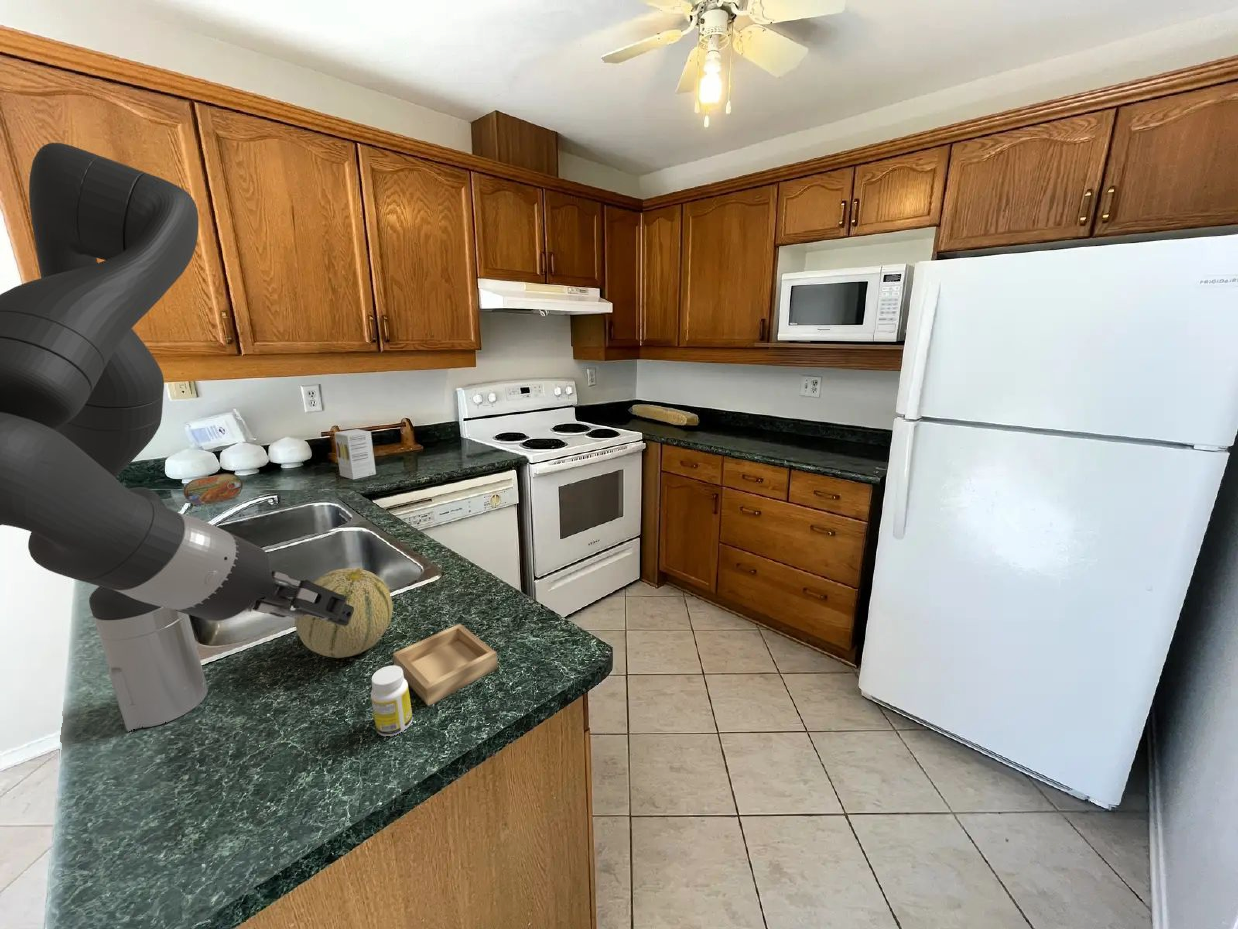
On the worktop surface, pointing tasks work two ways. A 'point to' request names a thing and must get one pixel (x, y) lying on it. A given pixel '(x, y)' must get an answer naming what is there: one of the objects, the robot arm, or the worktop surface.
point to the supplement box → (355, 453)
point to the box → (445, 663)
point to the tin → (213, 489)
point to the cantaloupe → (366, 619)
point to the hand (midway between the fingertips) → (317, 612)
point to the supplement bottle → (391, 701)
